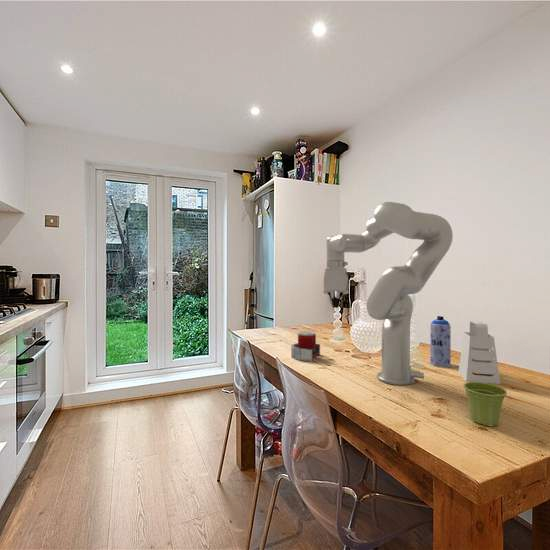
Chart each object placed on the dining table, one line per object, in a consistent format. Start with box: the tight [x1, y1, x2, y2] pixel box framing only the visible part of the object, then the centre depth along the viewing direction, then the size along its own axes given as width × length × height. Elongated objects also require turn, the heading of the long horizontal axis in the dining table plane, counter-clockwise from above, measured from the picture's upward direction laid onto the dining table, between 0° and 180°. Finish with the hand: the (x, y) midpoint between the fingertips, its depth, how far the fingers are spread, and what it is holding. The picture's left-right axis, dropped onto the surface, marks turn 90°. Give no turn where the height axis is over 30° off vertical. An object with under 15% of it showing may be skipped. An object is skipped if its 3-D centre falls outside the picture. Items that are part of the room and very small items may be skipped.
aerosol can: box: [429, 315, 452, 368], centre depth 137 cm, size 8×8×20 cm
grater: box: [457, 320, 501, 385], centre depth 120 cm, size 10×10×20 cm
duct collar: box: [290, 342, 321, 362], centre depth 150 cm, size 11×13×5 cm
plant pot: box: [463, 382, 508, 426], centre depth 86 cm, size 9×9×9 cm
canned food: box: [297, 330, 317, 360], centre depth 150 cm, size 8×8×11 cm
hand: (336, 307), depth 143 cm, fingers closed
